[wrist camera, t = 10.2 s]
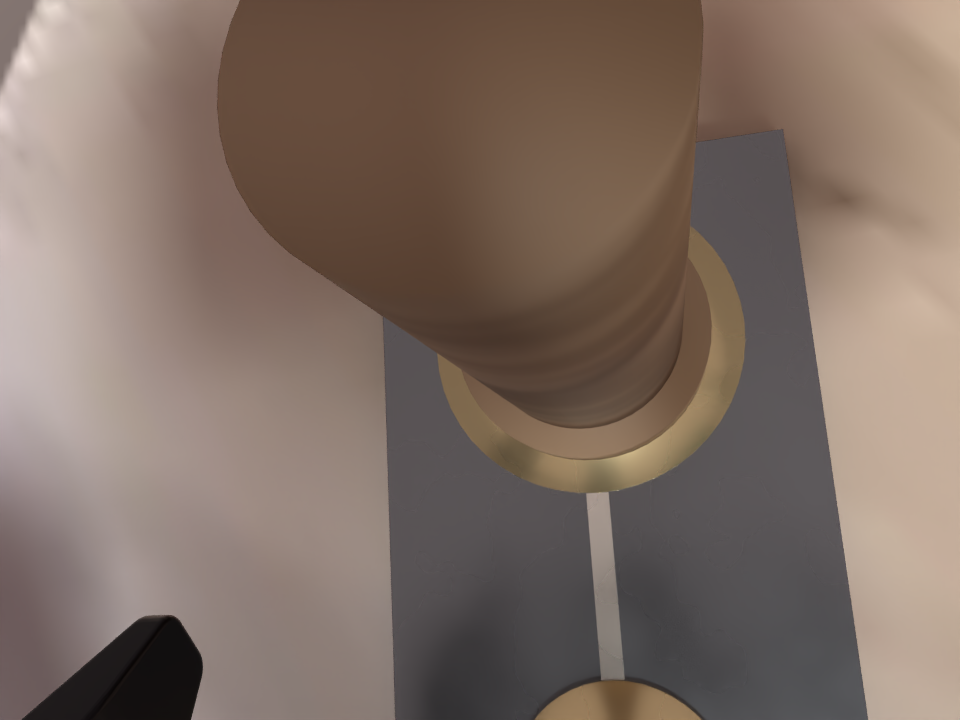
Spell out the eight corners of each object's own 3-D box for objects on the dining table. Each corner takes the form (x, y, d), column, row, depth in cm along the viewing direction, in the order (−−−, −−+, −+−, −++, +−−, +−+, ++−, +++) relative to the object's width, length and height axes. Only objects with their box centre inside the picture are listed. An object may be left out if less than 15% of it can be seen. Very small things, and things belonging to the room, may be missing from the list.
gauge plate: (893, 934, 15) (917, 981, 14) (410, 907, 18) (385, 945, 16) (779, 140, 19) (789, 108, 17) (387, 199, 21) (365, 175, 19)
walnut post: (608, 511, 17) (491, 511, 6) (424, 365, 19) (57, 147, 8) (761, 313, 17) (933, -64, 6) (563, 184, 19) (404, -302, 8)
